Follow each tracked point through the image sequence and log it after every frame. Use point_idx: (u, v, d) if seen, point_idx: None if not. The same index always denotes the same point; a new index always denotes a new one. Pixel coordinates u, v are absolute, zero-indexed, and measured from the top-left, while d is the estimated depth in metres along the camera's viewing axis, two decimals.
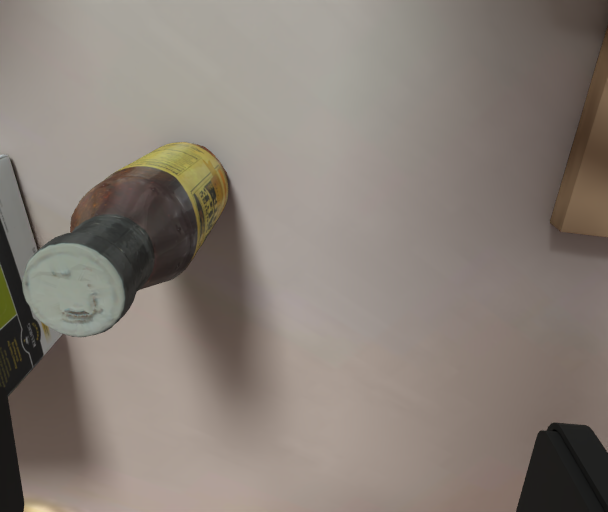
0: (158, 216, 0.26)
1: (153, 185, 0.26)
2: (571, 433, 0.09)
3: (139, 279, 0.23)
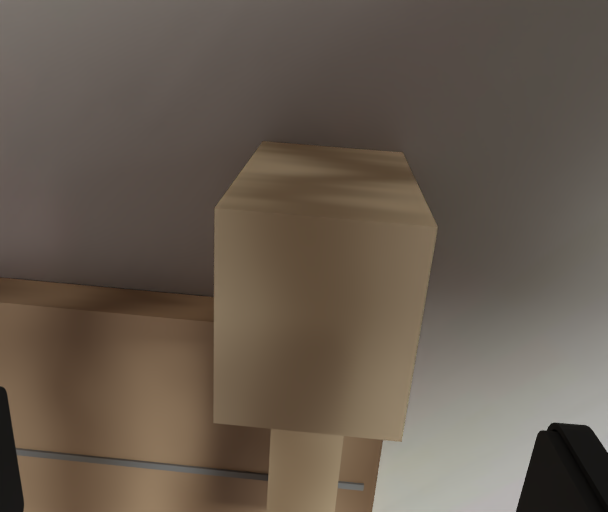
0: None
1: None
2: (571, 433, 0.09)
3: None
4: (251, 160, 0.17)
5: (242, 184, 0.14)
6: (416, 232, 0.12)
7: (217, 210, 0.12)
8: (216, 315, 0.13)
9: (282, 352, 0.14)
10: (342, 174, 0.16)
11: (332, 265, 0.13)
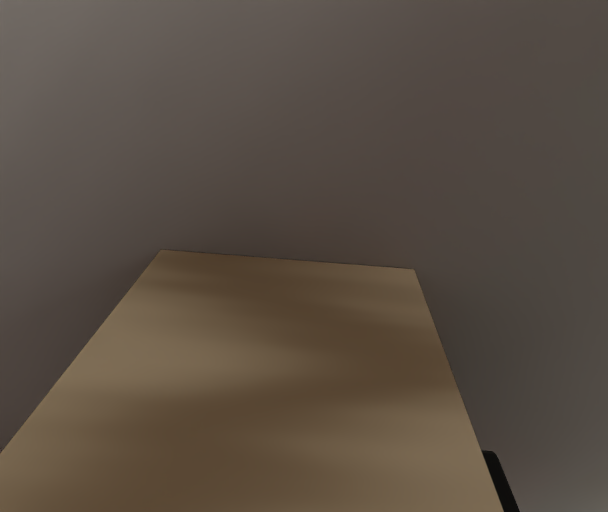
0: None
1: None
2: None
3: None
4: (105, 326, 0.08)
5: (20, 465, 0.05)
6: None
7: None
8: None
9: None
10: (295, 373, 0.07)
11: None
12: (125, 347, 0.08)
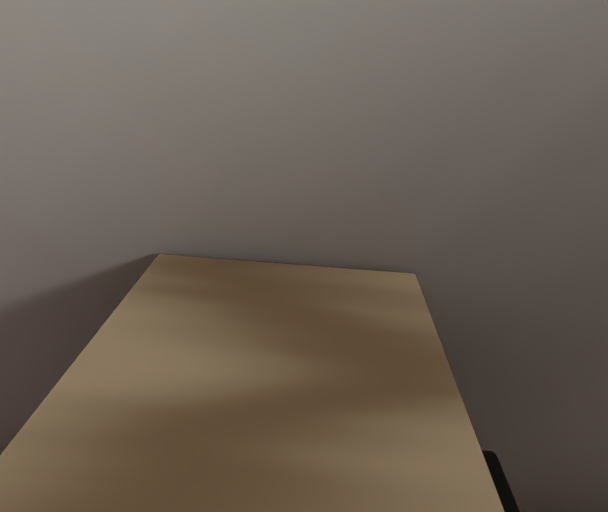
0: None
1: None
2: None
3: None
4: (102, 332, 0.08)
5: (13, 476, 0.05)
6: None
7: None
8: None
9: None
10: (296, 381, 0.07)
11: None
12: (122, 354, 0.07)
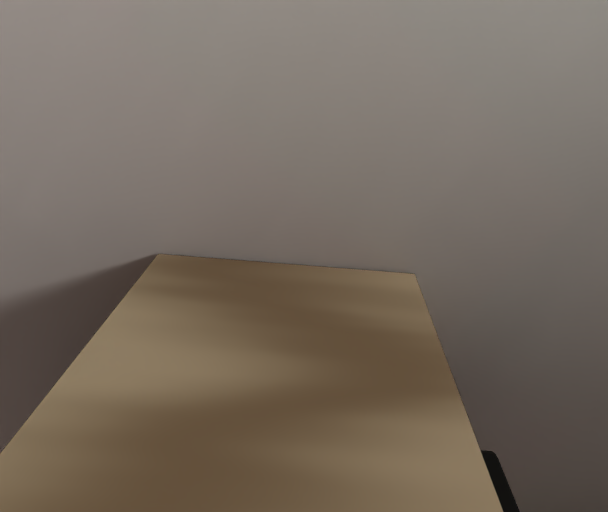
0: None
1: None
2: None
3: None
4: (101, 333, 0.08)
5: (11, 477, 0.05)
6: None
7: None
8: None
9: None
10: (294, 380, 0.07)
11: None
12: (121, 354, 0.07)
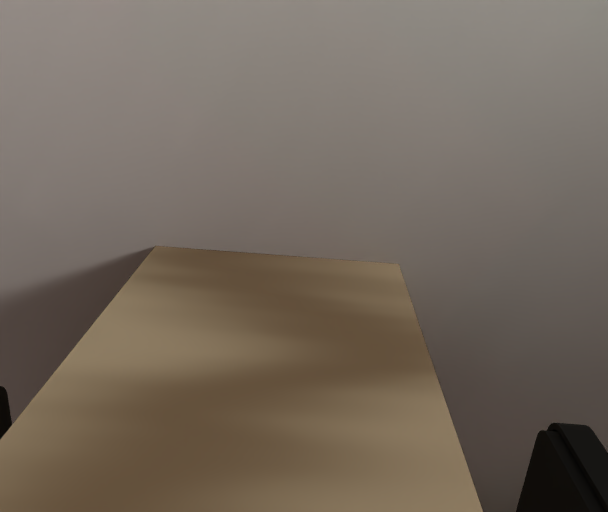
0: None
1: None
2: (571, 433, 0.09)
3: None
4: (103, 317, 0.08)
5: (26, 441, 0.06)
6: None
7: None
8: None
9: None
10: (283, 359, 0.08)
11: None
12: (122, 336, 0.08)
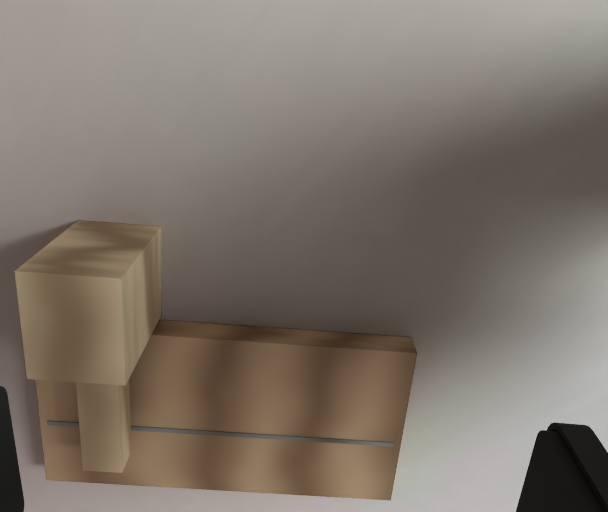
0: None
1: None
2: (571, 433, 0.09)
3: None
4: (58, 237, 0.31)
5: (40, 255, 0.28)
6: (112, 281, 0.26)
7: (16, 272, 0.26)
8: (21, 322, 0.27)
9: (57, 340, 0.27)
10: (104, 245, 0.30)
11: (75, 296, 0.27)
12: (63, 240, 0.30)
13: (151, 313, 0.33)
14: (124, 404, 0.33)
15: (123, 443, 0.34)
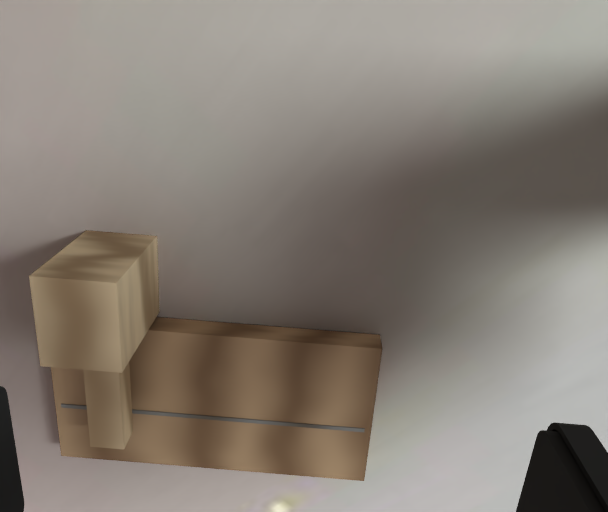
0: None
1: None
2: (571, 433, 0.09)
3: None
4: (68, 245, 0.36)
5: (51, 262, 0.33)
6: (108, 284, 0.31)
7: (30, 276, 0.31)
8: (35, 318, 0.32)
9: (64, 334, 0.33)
10: (106, 253, 0.35)
11: (78, 297, 0.32)
12: (71, 249, 0.35)
13: (148, 311, 0.38)
14: (125, 390, 0.38)
15: (124, 424, 0.39)
